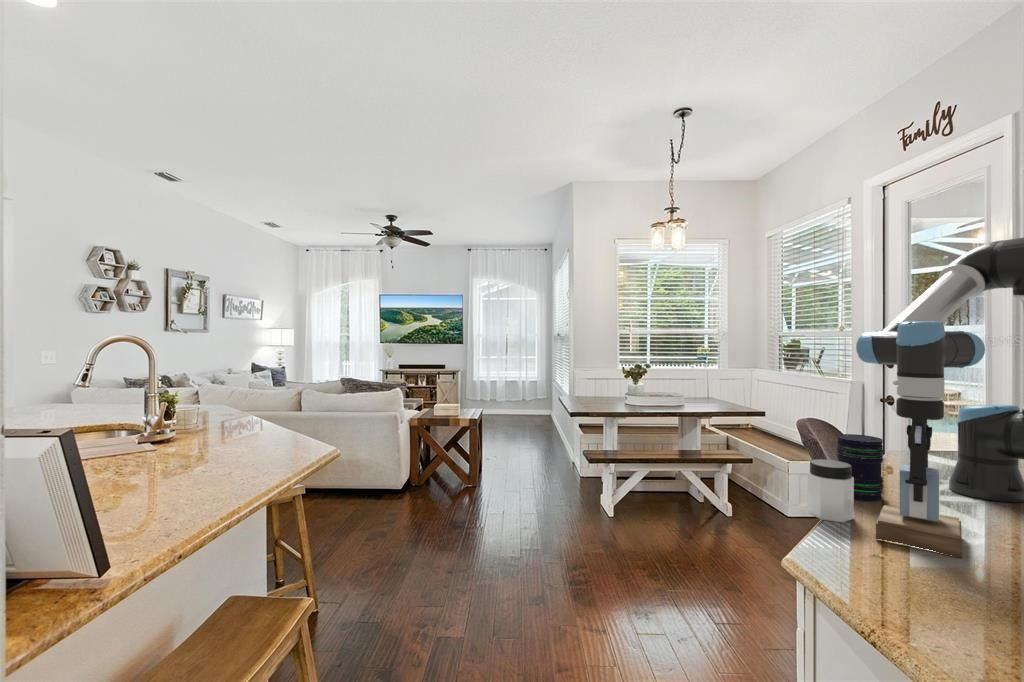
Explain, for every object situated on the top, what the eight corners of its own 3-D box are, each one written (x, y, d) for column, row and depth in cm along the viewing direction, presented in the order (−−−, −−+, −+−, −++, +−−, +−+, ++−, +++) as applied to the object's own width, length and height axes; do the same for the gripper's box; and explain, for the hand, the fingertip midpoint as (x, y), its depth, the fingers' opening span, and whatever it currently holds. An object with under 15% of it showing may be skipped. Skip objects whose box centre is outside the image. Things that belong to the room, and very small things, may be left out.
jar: (840, 525, 112) (840, 470, 112) (801, 514, 119) (801, 462, 118) (859, 517, 117) (859, 464, 117) (821, 507, 123) (821, 457, 123)
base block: (882, 522, 113) (882, 504, 113) (960, 537, 105) (961, 517, 105) (875, 540, 103) (875, 520, 103) (961, 558, 95) (961, 536, 95)
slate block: (901, 507, 108) (902, 464, 108) (939, 513, 104) (939, 469, 104) (899, 514, 104) (899, 470, 104) (938, 521, 100) (938, 475, 100)
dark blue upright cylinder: (841, 499, 130) (841, 439, 130) (832, 488, 139) (832, 433, 139) (888, 504, 126) (889, 442, 126) (876, 492, 135) (876, 435, 135)
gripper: (900, 392, 114) (899, 497, 114) (892, 401, 99) (891, 521, 99) (944, 395, 109) (943, 504, 109) (943, 404, 94) (942, 530, 95)
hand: (918, 512), depth 104 cm, fingers closed on slate block, 6 cm apart
